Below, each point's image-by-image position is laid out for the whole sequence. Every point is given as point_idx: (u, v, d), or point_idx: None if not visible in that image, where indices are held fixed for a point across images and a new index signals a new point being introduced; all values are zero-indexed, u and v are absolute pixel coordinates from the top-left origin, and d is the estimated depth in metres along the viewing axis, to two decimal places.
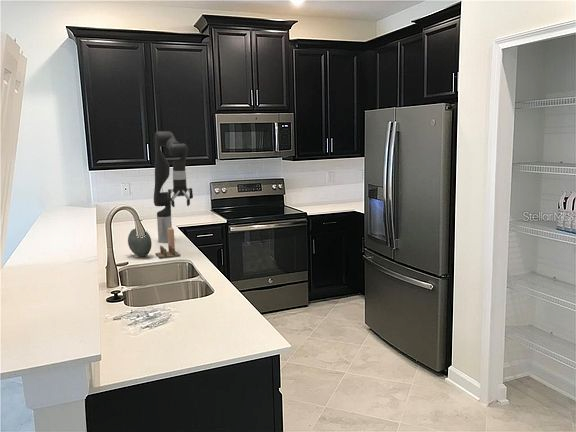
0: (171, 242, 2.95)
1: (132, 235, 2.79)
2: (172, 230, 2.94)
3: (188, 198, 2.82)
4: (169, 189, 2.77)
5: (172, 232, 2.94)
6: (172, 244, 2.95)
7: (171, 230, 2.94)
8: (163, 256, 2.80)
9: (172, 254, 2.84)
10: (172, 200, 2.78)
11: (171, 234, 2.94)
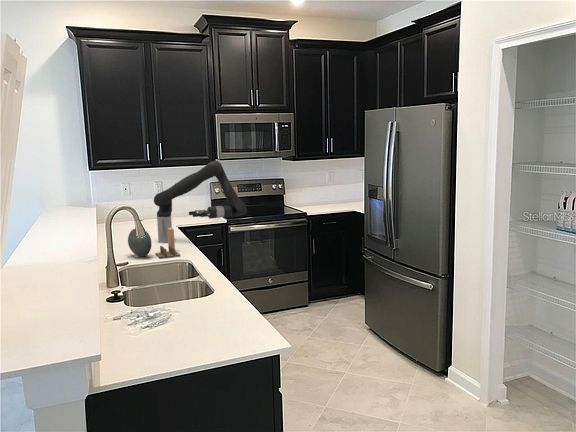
0: (171, 242, 2.95)
1: (132, 235, 2.79)
2: (172, 230, 2.94)
3: None
4: (210, 216, 3.00)
5: (172, 232, 2.94)
6: (172, 244, 2.95)
7: (171, 230, 2.94)
8: (163, 256, 2.80)
9: (172, 254, 2.84)
10: (199, 216, 2.98)
11: (171, 234, 2.94)
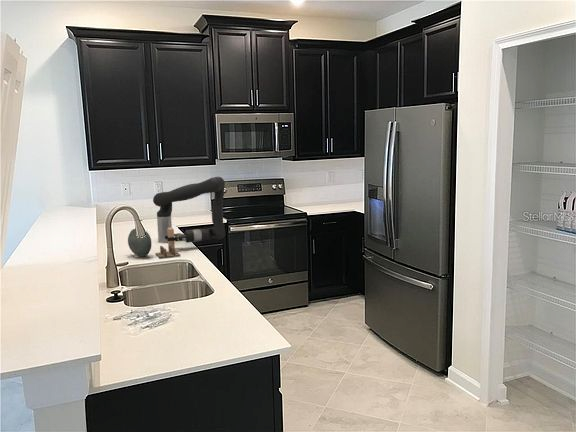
0: (171, 242, 2.95)
1: (132, 235, 2.79)
2: (172, 230, 2.94)
3: None
4: (185, 240, 2.95)
5: (172, 232, 2.94)
6: (172, 244, 2.95)
7: (171, 230, 2.94)
8: (163, 256, 2.80)
9: (172, 254, 2.84)
10: (174, 240, 2.94)
11: (171, 234, 2.94)
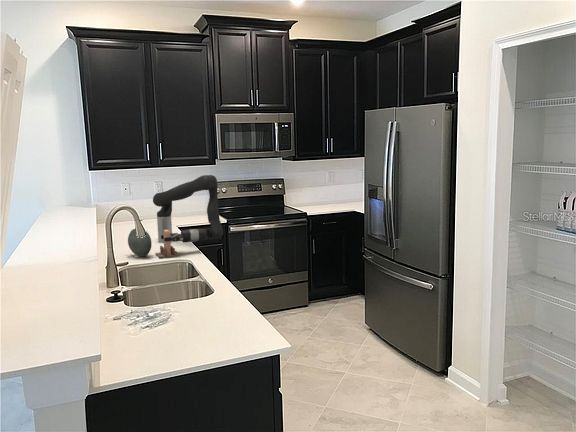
0: (167, 245, 2.82)
1: (132, 235, 2.79)
2: (168, 232, 2.82)
3: None
4: (183, 240, 2.83)
5: (168, 234, 2.82)
6: (168, 247, 2.83)
7: (167, 232, 2.81)
8: (163, 256, 2.80)
9: (172, 254, 2.84)
10: (171, 241, 2.81)
11: (167, 236, 2.82)
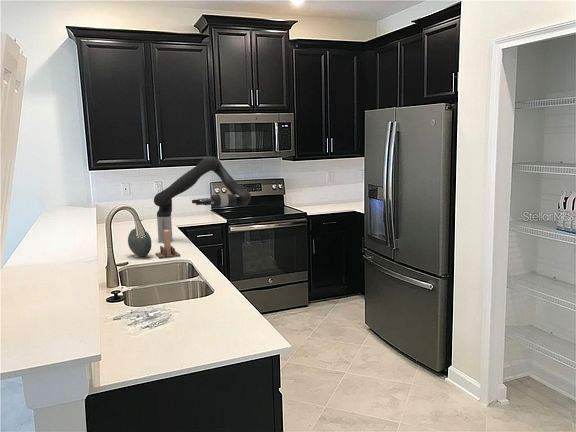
0: (167, 245, 2.82)
1: (132, 235, 2.79)
2: (168, 232, 2.82)
3: None
4: (213, 204, 2.92)
5: (168, 234, 2.82)
6: (168, 247, 2.83)
7: (167, 232, 2.81)
8: (163, 256, 2.80)
9: (172, 254, 2.84)
10: None
11: (167, 236, 2.82)
